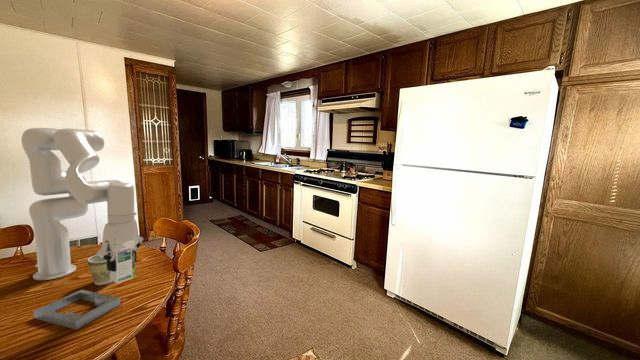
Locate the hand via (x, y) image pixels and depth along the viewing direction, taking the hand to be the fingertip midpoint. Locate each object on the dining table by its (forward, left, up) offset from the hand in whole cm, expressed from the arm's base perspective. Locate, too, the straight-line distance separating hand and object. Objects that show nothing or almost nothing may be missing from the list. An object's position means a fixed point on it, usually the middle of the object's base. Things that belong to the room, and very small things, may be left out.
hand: (122, 265), depth 93 cm
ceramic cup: (-16, +7, -11) cm, 21 cm away
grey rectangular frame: (-4, -12, -11) cm, 16 cm away
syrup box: (0, 0, -5) cm, 5 cm away
